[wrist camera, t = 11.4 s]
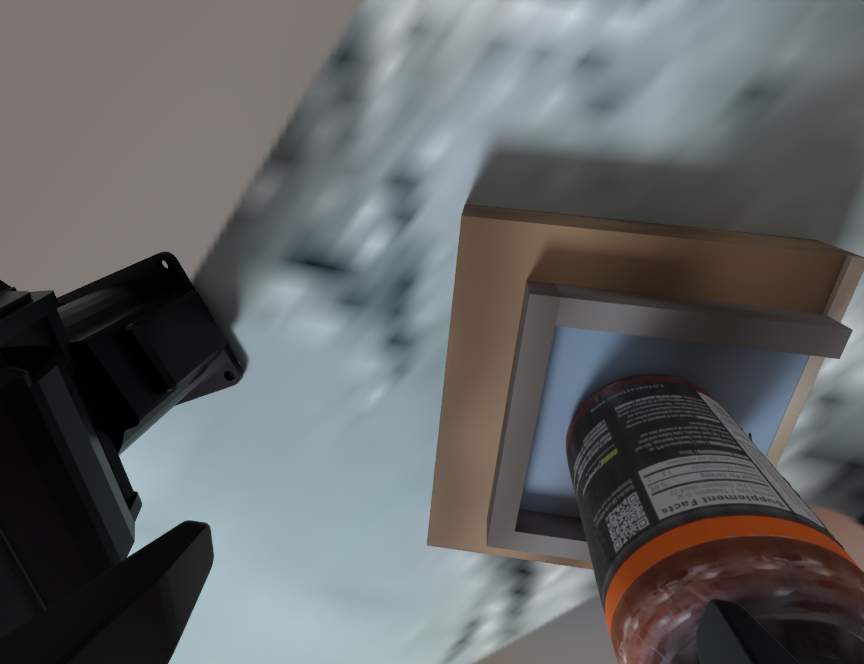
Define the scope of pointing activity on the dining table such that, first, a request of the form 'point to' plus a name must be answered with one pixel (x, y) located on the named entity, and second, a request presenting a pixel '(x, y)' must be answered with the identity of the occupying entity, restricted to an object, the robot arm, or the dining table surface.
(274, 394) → the dining table surface
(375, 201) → the dining table surface
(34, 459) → the robot arm
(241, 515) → the dining table surface
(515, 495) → the tan wooden shallow tray
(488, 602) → the dining table surface
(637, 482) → the supplement bottle
